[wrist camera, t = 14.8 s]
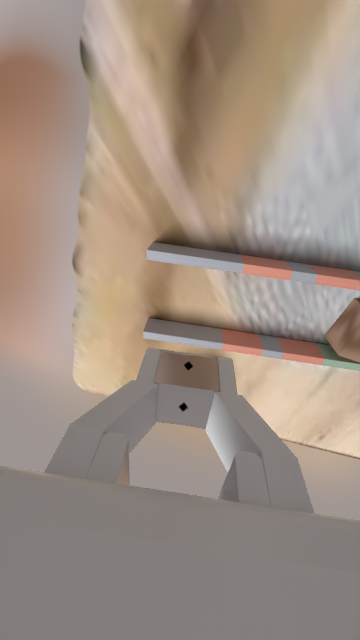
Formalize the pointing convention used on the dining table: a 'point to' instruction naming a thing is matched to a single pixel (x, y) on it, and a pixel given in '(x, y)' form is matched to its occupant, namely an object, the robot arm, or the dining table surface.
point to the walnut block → (347, 332)
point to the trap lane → (243, 340)
